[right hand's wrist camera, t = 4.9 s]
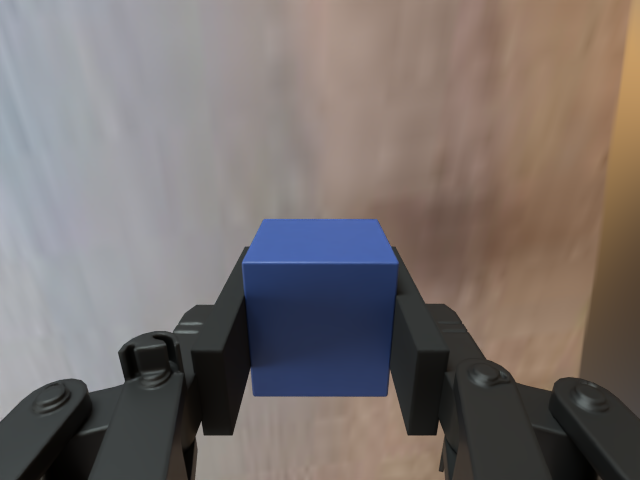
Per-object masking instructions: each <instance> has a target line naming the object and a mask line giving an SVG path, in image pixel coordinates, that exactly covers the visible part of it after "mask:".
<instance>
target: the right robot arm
mask: <svg viewBox="0 0 640 480" xmlns="http://www.w3.org/2000/svg"><path fill="white" fill-rule="evenodd" d="M391 248H392V250H393V252H394V254H395V256H396V258H397V260H398V262H399V272H398V283H397V295H396V302H395V314H394V325H393V337H392V348H391V359H390V370H391V374H392V378H393V382H394V385H395V389H396V393H397V397H398V400H399V404H400V408H401V412H402V416H403V419H404V423H405V427H406V431H407V434H408V435H437V429H438V422H439V420H440V423H441V426H442V428H443V431H444V434H445V437H444V443H443V449H442V455H441V460H440V467H439V471H440V472H443V471H444V472H445V480H601V479H602V480H640V419H639V418H638V417H637V416H636V415H635V414H634V413H633V412H632V411H631V410H630V409H629V408H628V407H627V406H626V405H625V404H624V403H623V402H622V401H620V399H619V398H617V397H616V396H615V395H613V394H612V393H611V392H610V391H608V390H607V389H605V388H603V387H601V386H599V385H597V384H595V383H592V382H590V381H587V380H584V379H580V378H572V377H567V378H561V379H559V380H558V381H556V382H555V383H554V386H553V390H552V391H548V390H543V389H539V388H534V387H530V386H526V385H522V384H519V383H516V382H515V380H514V378H513V377H512V375H511V374H510V373H509V372H508V371H507V370H506V369H504V368H503V367H502V366H500V365H498V364H496V363H494V362H492V361H489V360H486V358H485V357H484V355H483V353H482V352H481V350H480V349H479V347H478V346H477V344H476V343H475V341H474V340H473V338H472V337H471V335H470V334H469V332H467V329H466V327H465V326H464V324H462V321H461V320H460V318H459V317H458V315H457V314H456V312H455V311H453V310H452V309H450V308H449V307H448V306H446V305H445V304H425V302H424V300H423V298H422V297H421V295H420V293H419V291H418V289H417V287H416V285H415V283H414V281H413V280H412V278H411V276H410V274H409V272H408V270H407V268H406V266H405V264H404V263H403V261H402V259H401V257H400V255H399V253H398V251H397V249H396V247H391ZM248 249H249V247H245V248H244V250H243V252H242V254H241V256H240V257H239V259H238V261H237V263H236V265H235V267H234V269H233V271H232V273H231V274H230V276H229V278H228V280H227V282H226V284H225V286H224V288H223V290H222V291H221V293H220V295H219V297H218V299H217V301H216V303H215V305H196V306H194V307H193V308H192V309H190V310H189V311H187V312H186V313H185V314H184V315H183V317H182V319H181V320H180V322H179V323H178V325H177V326H176V328H175V329H174V331H173V333H171V332H167V331H154V332H150V333H145V334H142V335H140V336H137V337H135V338H133V339H131V340H130V341H128V342H127V343H126V344H124V345H123V346H122V348H121V349H120V350H119V352H118V354H119V358H120V362H121V366H122V370H123V374H124V378H125V383H124V384H123V385H119V386H116V387H112V388H108V389H103V390H99V391H95V392H90V393H89V392H88V389H87V385H86V384H85V383H84V382H83V381H81V380H77V379H64V380H59V381H55V382H52V383H49V384H46V385H45V386H43V387H41V388H39V389H37V390H35V391H33V392H32V393H31V394H29V395H28V396H27V397H26V398H24V399H23V400H22V401H21V402H20V403H19V404H18V405H17V406H16V407H15V408H14V409H13V410H12V411H11V412H10V413H9V414H8V415H7V416H6V417H5V418H4V419H3V420H2V421H1V422H0V480H195V472H196V462H197V451H198V450H197V443H196V437H195V436H196V434H197V431H198V428H199V426H200V423H201V421H202V427H203V433H204V435H233V432H234V428H235V424H236V420H237V417H238V413H239V409H240V405H241V401H242V398H243V394H244V390H245V386H246V383H247V379H248V375H249V371H250V367H251V365H250V353H249V341H248V330H247V318H246V307H245V295H244V285H243V273H242V261H243V259H244V257H245V255H246V253H247V251H248Z"/></svg>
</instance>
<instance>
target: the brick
mask: <svg viewBox="0 0 640 480" xmlns="http://www.w3.org/2000/svg"><path fill="white" fill-rule="evenodd" d="M398 272H399V262H398V260H397V258H396V256H395V254H394V252H393V250H392V248H391V246H390V244H389V242H388V240H387V238H386V236H385V234H384V232H383V230H382V228H381V226H380V224H379V222H378V220H377V219H264V220H263V221H262V223H261V225H260V227H259V229H258V231H257V233H256V235H255V237H254V239H253V241H252V243H251V245H250V247H249V249H248V251H247V253H246V255H245V257H244V259H243V261H242V273H243V285H244V295H245V307H246V318H247V330H248V341H249V353H250V365H251V378H252V390H253V395H254V396H345V397H386V396H387V395H388V385H389V374H390V359H391V348H392V337H393V325H394V314H395V302H396V295H397V283H398Z"/></svg>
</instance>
